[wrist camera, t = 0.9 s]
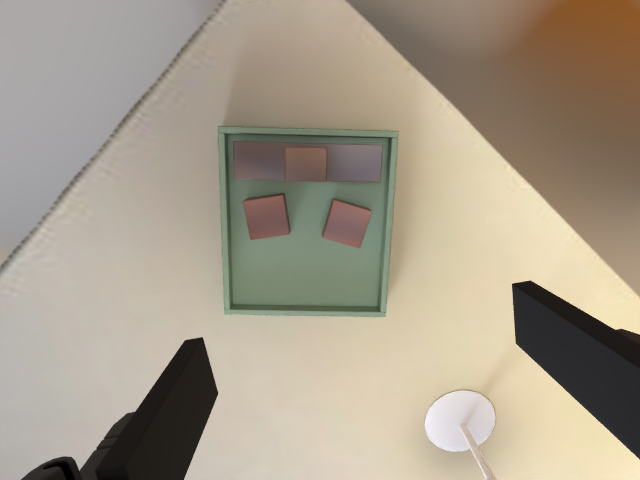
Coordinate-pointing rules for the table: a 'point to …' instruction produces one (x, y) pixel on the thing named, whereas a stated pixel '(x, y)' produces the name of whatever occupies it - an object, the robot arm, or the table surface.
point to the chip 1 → (267, 216)
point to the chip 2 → (346, 223)
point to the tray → (306, 235)
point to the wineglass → (462, 424)
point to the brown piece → (307, 161)
